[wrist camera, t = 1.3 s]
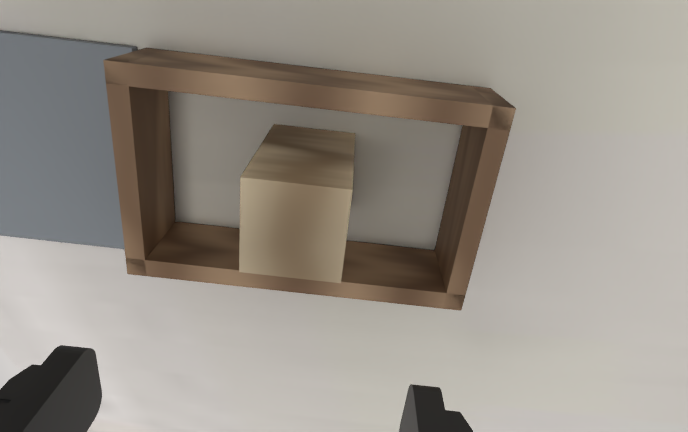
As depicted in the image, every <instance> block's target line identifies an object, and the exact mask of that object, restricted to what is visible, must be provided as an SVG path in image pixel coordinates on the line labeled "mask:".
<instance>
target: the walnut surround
mask: <svg viewBox="0 0 688 432" xmlns="http://www.w3.org/2000/svg"><path fill="white" fill-rule="evenodd" d="M103 62H104V71H105V80H106V89H107V97H108V106H109V115H110V124H111V133H112V141H113V150H114V159H115V168H116V177H117V185H118V194H119V203H120V212H121V221H122V229H123V238H124V247H125V256H126V264H127V273H128V274H133V275H142V276H151V277H160V278H170V279H179V280H188V281H197V282H206V283H215V284H224V285H233V286H243V287H252V288H261V289H270V290H279V291H288V292H297V293H306V294H316V295H325V296H334V297H343V298H352V299H361V300H370V301H379V302H389V303H398V304H407V305H416V306H425V307H434V308H443V309H452V310H461V309H462V306H463V302H464V298H465V294H466V291H467V287H468V283H469V280H470V276H471V272H472V269H473V265H474V261H475V258H476V254H477V250H478V247H479V243H480V239H481V235H482V232H483V228H484V224H485V221H486V217H487V213H488V210H489V206H490V202H491V199H492V195H493V191H494V188H495V184H496V180H497V176H498V173H499V169H500V165H501V162H502V158H503V154H504V151H505V147H506V143H507V140H508V136H509V132H510V129H511V125H512V121H513V117H514V114H515V110H516V108H515V107H514V106H512V105H511V104H510V103H508V102H507V101H506V100H505V99H503V98H502V97H501V96H500V95H498V94H497V93H496V92H495V91H493V90H492V89H491V88H483V87H475V86H466V85H458V84H449V83H441V82H432V81H424V80H415V79H407V78H398V77H390V76H381V75H373V74H364V73H356V72H347V71H339V70H330V69H322V68H313V67H305V66H296V65H288V64H279V63H271V62H262V61H254V60H245V59H237V58H228V57H220V56H211V55H203V54H195V53H186V52H178V51H169V50H161V49H152V48H144V49H140V50H137V51H133V52H130V53H126V54H123V55H119V56H116V57H112V58H109V59H105V60H103ZM168 91H174V92H182V93H191V94H199V95H208V96H217V97H225V98H234V99H242V100H251V101H259V102H268V103H277V104H285V105H294V106H302V107H311V108H320V109H328V110H337V111H345V112H354V113H363V114H371V115H380V116H388V117H397V118H406V119H414V120H423V121H431V122H440V123H449V124H457V125H463V127H462V131H461V136H460V140H459V145H458V149H457V154H456V158H455V163H454V167H453V172H452V176H451V180H450V185H449V189H448V194H447V198H446V203H445V207H444V212H443V216H442V220H441V225H440V229H439V234H438V238H437V243H436V247H435V250H426V249H417V248H408V247H399V246H390V245H381V244H372V243H364V242H355V241H346V247H345V254H344V262H343V270H342V278H341V283H334V282H325V281H316V280H307V279H297V278H288V277H279V276H270V275H261V274H252V273H243V272H239V243H240V229H238V228H229V227H220V226H211V225H202V224H193V223H184V222H175V205H174V187H173V170H172V152H171V135H170V117H169V99H168Z"/></svg>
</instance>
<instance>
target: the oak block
mask: <svg viewBox="0 0 688 432" xmlns="http://www.w3.org/2000/svg"><path fill="white" fill-rule="evenodd" d="M354 148H355V133H347V132H338V131H329V130H321V129H312V128H303V127H295V126H286V125H277V124H274V125H273V126H272V128H271V130H270V131H269V133H268V134H267V136H266V137H265V139H264V141H263V142H262V144H261V145H260V147H259V148H258V150H257V152H256V153H255V155H254V156H253V158H252V159H251V161H250V163H249V164H248V166H247V167H246V169H245V170H244V172H243V174H242V175H241V177H240V243H239V272H243V273H252V274H261V275H270V276H279V277H288V278H297V279H307V280H316V281H325V282H334V283H341V278H342V270H343V262H344V254H345V247H346V239H347V231H348V223H349V215H350V207H351V199H352V191H353V171H354Z"/></svg>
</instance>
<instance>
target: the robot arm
mask: <svg viewBox="0 0 688 432" xmlns="http://www.w3.org/2000/svg"><path fill="white" fill-rule="evenodd" d="M101 399H102V390H101V384H100V378H99V372H98V365H97V359H96V354H95V351H94V350H93V349H91V348H81V347H72V346H63V345H61V346H59V347H57V348H56V349H55V350H54V351H53V352H52V353H51V354H50V355H49V357H48V358H47V359H46V360H45V361H44V362H43V364H42V365H31V366H29V367H28V368H26V369H25V370H23V371H22V372H20V373H19V374H17V375H16V376H14V377H13V378H11V379H10V380H9V381H8V382H7V383H6V384H5V385H4V386H3V387H2V388H1V390H0V432H87V430H88V429H89V427H90V426H91V424H92V422H93V421H94V419H95V417H96V415H97V413H98V411H99V408H100V404H101ZM399 432H473V430H472V429H471V427H470V426H469V424H468V423H467V422H466V420H465V419H464V417H463V416H462V414H461V413H460V412H456V411H447V410H445V408H444V402H443V397H442V392H441V389H440V388H439V387H430V386H421V385H412V384H411V385H410V386H409V389H408V393H407V397H406V402H405V406H404V410H403V415H402V419H401V424H400V429H399Z"/></svg>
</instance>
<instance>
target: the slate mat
mask: <svg viewBox="0 0 688 432" xmlns="http://www.w3.org/2000/svg"><path fill="white" fill-rule="evenodd" d="M133 51H137V47H135V46H127V45H118V44H110V43H101V42H93V41H84V40H76V39H67V38H59V37H50V36H42V35H33V34H25V33H16V32H8V31H0V235H1V236H10V237H19V238H28V239H38V240H47V241H56V242H65V243H74V244H83V245H92V246H101V247H110V248H119V249H125V247H124V238H123V229H122V221H121V212H120V203H119V194H118V185H117V177H116V168H115V159H114V150H113V141H112V133H111V124H110V115H109V106H108V97H107V89H106V80H105V71H104V62H103V60H105V59H109V58H112V57H116V56H119V55H123V54H126V53H130V52H133Z"/></svg>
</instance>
